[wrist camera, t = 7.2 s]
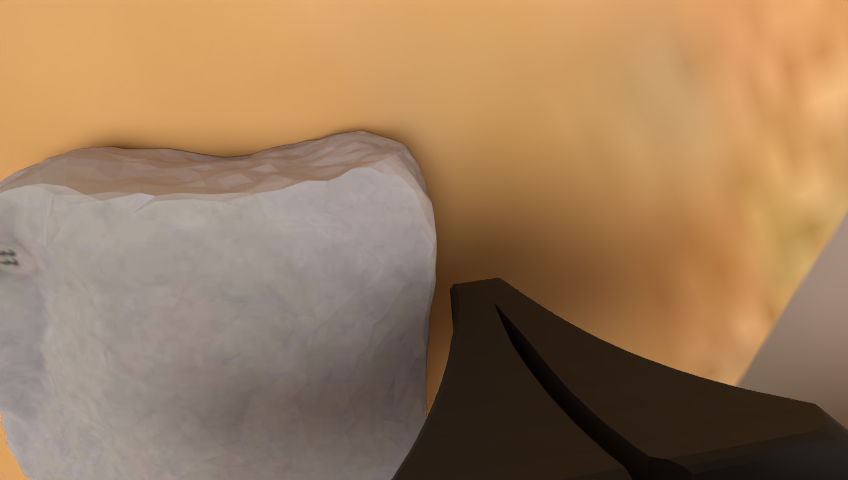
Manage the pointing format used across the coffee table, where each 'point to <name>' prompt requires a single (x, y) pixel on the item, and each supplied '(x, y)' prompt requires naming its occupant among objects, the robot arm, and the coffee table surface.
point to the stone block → (216, 312)
